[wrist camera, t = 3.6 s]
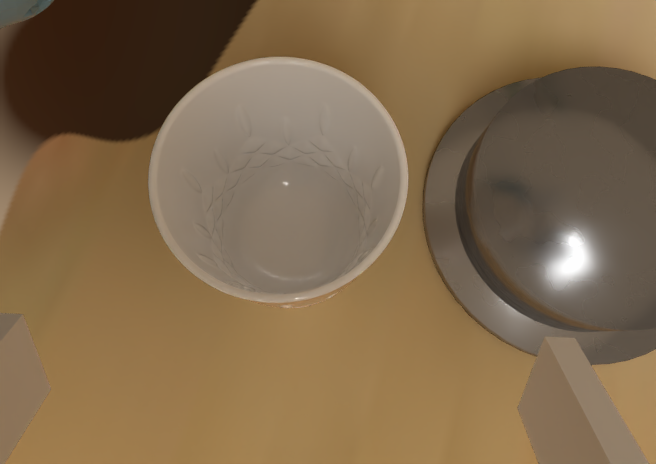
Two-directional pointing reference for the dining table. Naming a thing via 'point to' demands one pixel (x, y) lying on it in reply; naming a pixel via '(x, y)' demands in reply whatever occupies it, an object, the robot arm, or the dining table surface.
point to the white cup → (278, 180)
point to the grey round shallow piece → (552, 212)
